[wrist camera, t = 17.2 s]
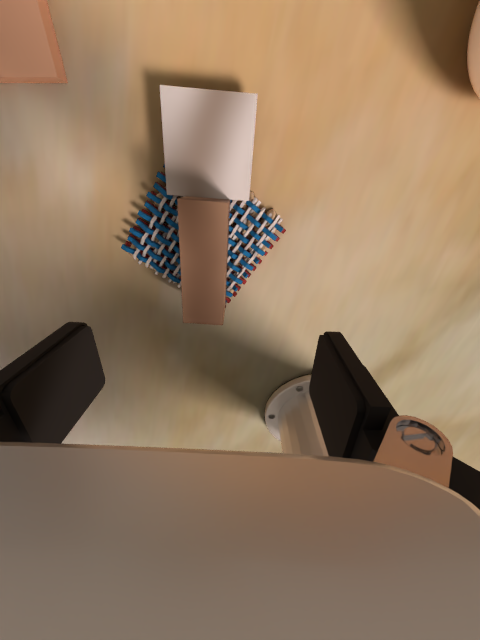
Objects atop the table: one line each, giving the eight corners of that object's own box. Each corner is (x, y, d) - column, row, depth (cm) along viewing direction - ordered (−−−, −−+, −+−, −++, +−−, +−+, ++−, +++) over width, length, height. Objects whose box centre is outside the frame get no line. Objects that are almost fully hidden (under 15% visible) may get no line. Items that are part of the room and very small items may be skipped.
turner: (257, 96, 16) (260, 76, 13) (240, 307, 23) (240, 326, 20) (162, 88, 16) (143, 66, 13) (175, 302, 23) (165, 321, 20)
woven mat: (222, 309, 26) (221, 319, 24) (125, 248, 23) (115, 253, 21) (290, 222, 22) (295, 226, 20) (183, 132, 18) (177, 127, 17)
